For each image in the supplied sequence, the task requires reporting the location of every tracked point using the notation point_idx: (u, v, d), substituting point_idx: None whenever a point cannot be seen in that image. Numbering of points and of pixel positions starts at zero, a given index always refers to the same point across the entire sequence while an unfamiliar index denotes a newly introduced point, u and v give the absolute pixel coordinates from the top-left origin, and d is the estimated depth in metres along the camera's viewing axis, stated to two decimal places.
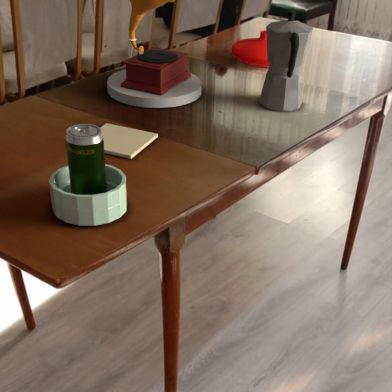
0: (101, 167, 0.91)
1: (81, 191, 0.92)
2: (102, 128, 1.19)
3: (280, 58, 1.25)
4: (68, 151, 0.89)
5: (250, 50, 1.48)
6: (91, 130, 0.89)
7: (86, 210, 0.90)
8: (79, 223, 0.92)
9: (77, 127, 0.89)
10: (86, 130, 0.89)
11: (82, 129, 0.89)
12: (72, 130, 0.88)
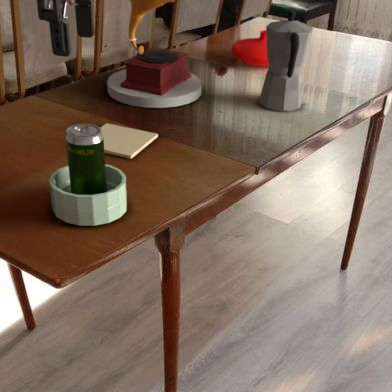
0: (101, 167, 0.91)
1: (81, 191, 0.92)
2: (102, 128, 1.19)
3: (280, 58, 1.25)
4: (68, 151, 0.89)
5: (250, 50, 1.48)
6: (91, 130, 0.89)
7: (86, 210, 0.90)
8: (79, 223, 0.92)
9: (77, 127, 0.89)
10: (86, 130, 0.89)
11: (82, 129, 0.89)
12: (72, 130, 0.88)
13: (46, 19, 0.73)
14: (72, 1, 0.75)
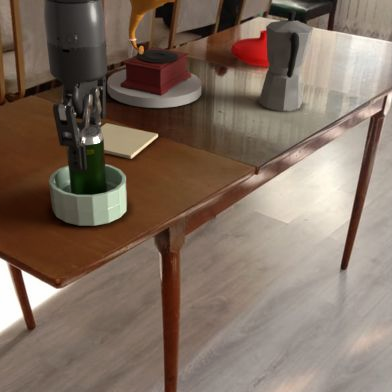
0: (101, 167, 0.91)
1: (81, 191, 0.92)
2: (102, 128, 1.19)
3: (280, 58, 1.25)
4: (68, 151, 0.89)
5: (250, 50, 1.48)
6: (91, 130, 0.89)
7: (86, 210, 0.90)
8: (79, 223, 0.92)
9: None
10: (86, 130, 0.89)
11: None
12: None
13: (66, 145, 0.84)
14: (87, 127, 0.85)
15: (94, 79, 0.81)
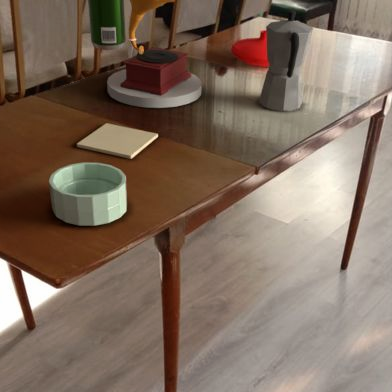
0: None
1: (101, 22, 0.94)
2: (102, 128, 1.19)
3: (280, 58, 1.25)
4: None
5: (250, 50, 1.48)
6: None
7: (86, 210, 0.90)
8: (79, 223, 0.92)
9: None
10: None
11: None
12: None
13: None
14: None
15: None
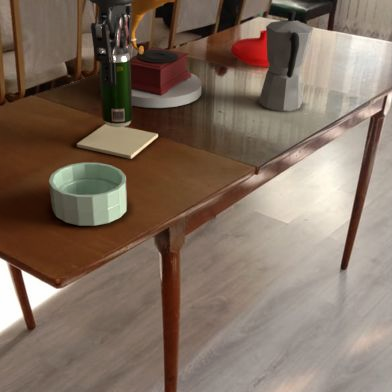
0: (128, 84, 1.08)
1: (111, 105, 1.09)
2: (102, 128, 1.19)
3: (280, 58, 1.25)
4: (101, 69, 1.06)
5: (250, 50, 1.48)
6: (120, 51, 1.06)
7: (86, 210, 0.90)
8: (79, 223, 0.92)
9: None
10: (116, 51, 1.06)
11: None
12: None
13: (100, 60, 1.01)
14: (118, 46, 1.02)
15: (125, 3, 0.98)
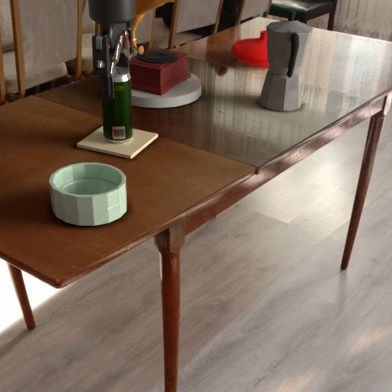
0: (129, 102, 1.10)
1: (112, 123, 1.11)
2: (102, 128, 1.19)
3: (280, 58, 1.25)
4: None
5: (250, 50, 1.48)
6: (121, 70, 1.08)
7: (86, 210, 0.90)
8: (79, 223, 0.92)
9: None
10: (117, 70, 1.08)
11: None
12: None
13: (98, 75, 1.02)
14: (117, 61, 1.03)
15: (125, 21, 1.00)
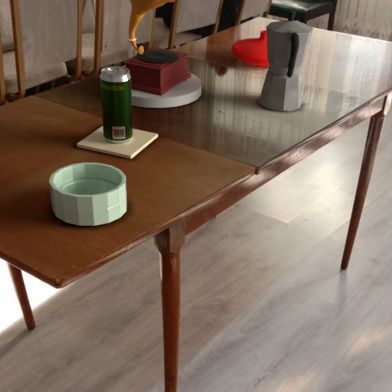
0: (129, 102, 1.10)
1: (112, 123, 1.11)
2: (102, 128, 1.19)
3: (280, 58, 1.25)
4: (102, 88, 1.08)
5: (250, 50, 1.48)
6: (121, 70, 1.08)
7: (86, 210, 0.90)
8: (79, 223, 0.92)
9: (109, 68, 1.08)
10: (117, 70, 1.08)
11: (113, 70, 1.08)
12: (105, 70, 1.07)
13: None
14: None
15: None
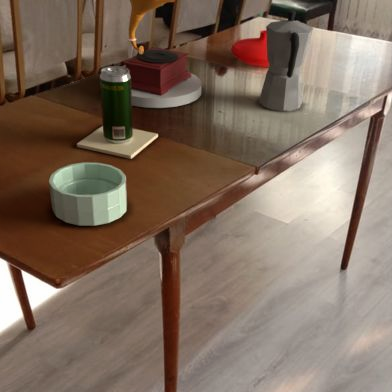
0: (129, 102, 1.10)
1: (112, 123, 1.11)
2: (102, 128, 1.19)
3: (280, 58, 1.25)
4: (102, 88, 1.08)
5: (250, 50, 1.48)
6: (121, 70, 1.08)
7: (86, 210, 0.90)
8: (79, 223, 0.92)
9: (109, 68, 1.08)
10: (117, 70, 1.08)
11: (113, 70, 1.08)
12: (105, 70, 1.07)
13: None
14: None
15: None
